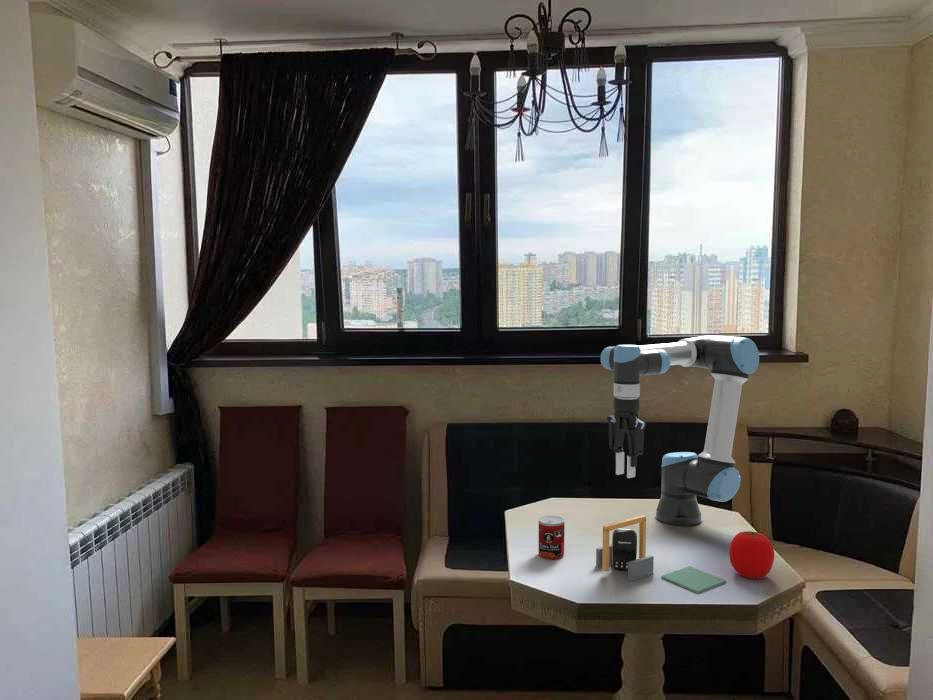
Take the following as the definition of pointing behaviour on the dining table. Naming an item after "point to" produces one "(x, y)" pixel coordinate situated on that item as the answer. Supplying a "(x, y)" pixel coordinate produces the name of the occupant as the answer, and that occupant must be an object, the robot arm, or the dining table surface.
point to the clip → (630, 564)
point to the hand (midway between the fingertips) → (625, 475)
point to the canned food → (551, 537)
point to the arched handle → (621, 524)
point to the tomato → (751, 554)
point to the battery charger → (623, 548)
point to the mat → (693, 579)
